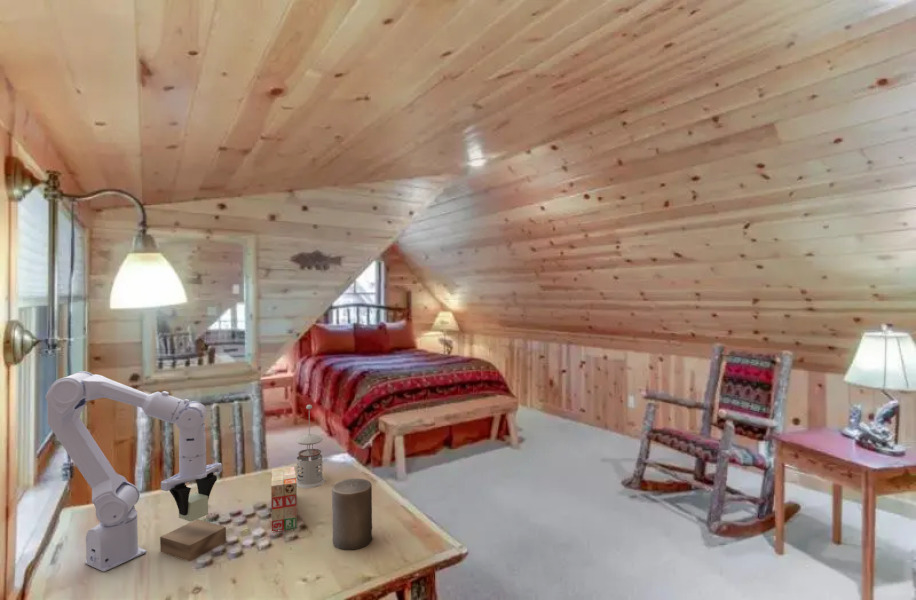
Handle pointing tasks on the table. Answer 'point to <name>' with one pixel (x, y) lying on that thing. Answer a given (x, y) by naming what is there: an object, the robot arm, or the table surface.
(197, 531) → the walnut block
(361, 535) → the pillar candle
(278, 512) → the stack of blocks
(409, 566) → the table surface
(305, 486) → the french press
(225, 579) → the table surface
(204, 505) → the sage cube
